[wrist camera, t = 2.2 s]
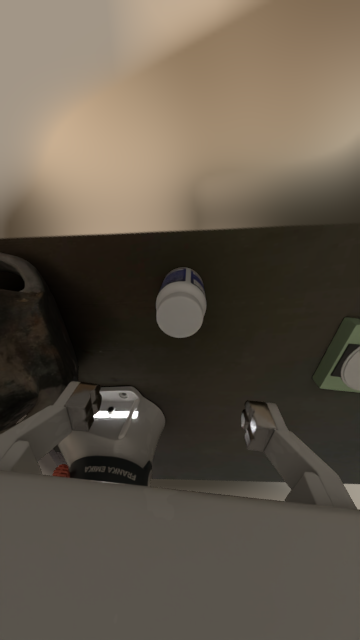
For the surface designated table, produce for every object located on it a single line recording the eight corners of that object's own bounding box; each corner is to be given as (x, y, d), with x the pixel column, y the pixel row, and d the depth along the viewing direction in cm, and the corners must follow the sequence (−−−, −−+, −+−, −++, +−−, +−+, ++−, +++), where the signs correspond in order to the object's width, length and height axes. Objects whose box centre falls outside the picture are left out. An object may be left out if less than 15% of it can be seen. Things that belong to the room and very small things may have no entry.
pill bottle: (160, 300, 30) (147, 336, 21) (166, 262, 27) (154, 284, 18) (198, 308, 30) (200, 347, 21) (207, 271, 27) (215, 297, 18)
